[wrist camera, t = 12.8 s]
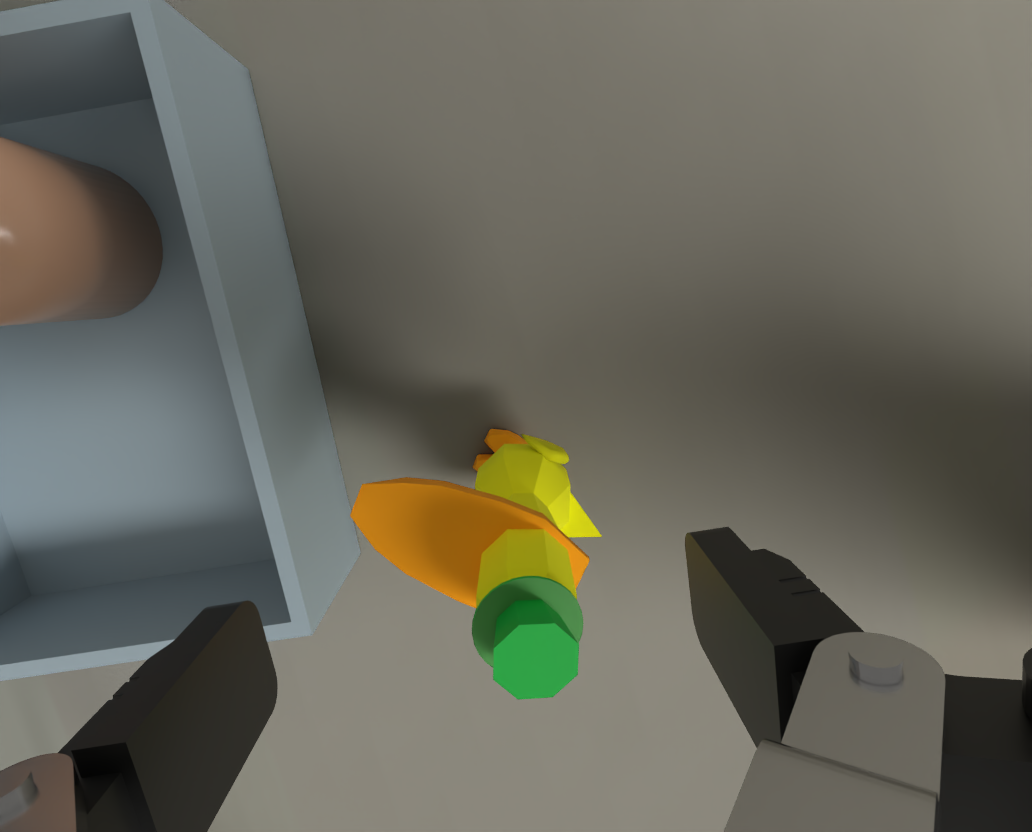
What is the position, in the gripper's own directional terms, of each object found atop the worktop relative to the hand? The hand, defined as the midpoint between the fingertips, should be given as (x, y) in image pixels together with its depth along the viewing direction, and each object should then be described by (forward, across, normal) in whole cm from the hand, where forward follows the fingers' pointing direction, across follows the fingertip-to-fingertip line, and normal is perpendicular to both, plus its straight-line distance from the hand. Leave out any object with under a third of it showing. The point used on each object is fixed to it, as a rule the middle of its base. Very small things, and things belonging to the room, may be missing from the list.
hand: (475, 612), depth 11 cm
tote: (+11, +12, -5) cm, 17 cm away
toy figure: (+11, 0, 0) cm, 11 cm away
